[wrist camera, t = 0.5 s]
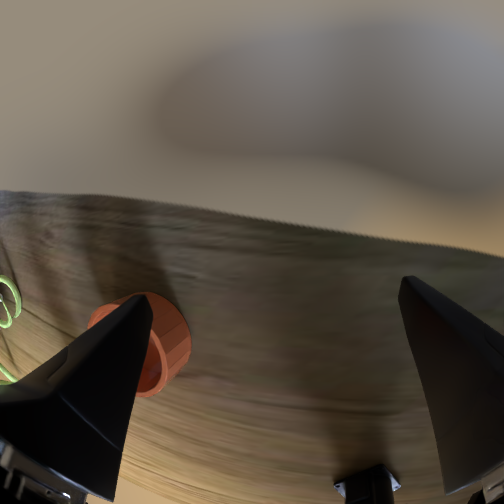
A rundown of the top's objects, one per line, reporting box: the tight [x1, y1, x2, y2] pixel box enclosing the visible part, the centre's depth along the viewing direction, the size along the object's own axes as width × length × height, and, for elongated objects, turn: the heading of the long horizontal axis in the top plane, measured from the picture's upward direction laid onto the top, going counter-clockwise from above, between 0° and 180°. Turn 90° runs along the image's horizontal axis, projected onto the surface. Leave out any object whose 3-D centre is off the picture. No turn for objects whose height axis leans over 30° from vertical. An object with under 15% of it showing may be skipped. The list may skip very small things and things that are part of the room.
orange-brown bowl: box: [87, 292, 192, 397], centre depth 25 cm, size 9×9×5 cm
